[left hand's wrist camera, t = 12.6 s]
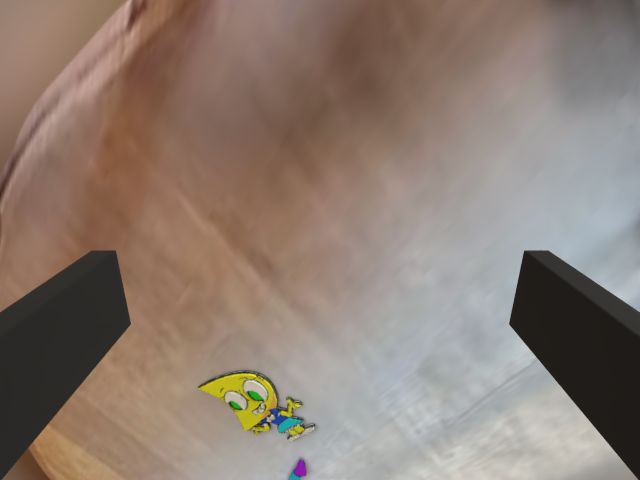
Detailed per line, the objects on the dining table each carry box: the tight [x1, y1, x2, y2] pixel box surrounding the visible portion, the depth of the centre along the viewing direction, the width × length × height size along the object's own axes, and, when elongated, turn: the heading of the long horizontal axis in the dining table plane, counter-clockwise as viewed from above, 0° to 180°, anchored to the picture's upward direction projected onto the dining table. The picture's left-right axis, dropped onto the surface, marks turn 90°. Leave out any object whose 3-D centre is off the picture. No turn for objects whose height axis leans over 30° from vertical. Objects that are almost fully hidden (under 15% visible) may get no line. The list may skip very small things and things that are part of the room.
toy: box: [198, 371, 315, 442], centre depth 53 cm, size 10×1×15 cm
